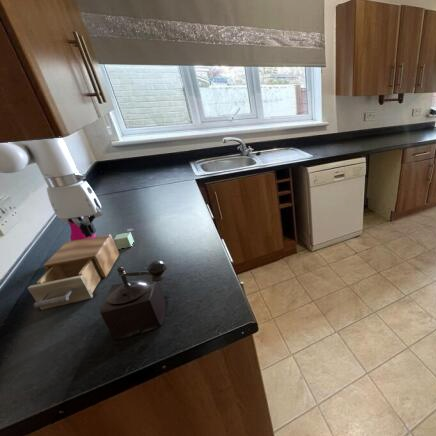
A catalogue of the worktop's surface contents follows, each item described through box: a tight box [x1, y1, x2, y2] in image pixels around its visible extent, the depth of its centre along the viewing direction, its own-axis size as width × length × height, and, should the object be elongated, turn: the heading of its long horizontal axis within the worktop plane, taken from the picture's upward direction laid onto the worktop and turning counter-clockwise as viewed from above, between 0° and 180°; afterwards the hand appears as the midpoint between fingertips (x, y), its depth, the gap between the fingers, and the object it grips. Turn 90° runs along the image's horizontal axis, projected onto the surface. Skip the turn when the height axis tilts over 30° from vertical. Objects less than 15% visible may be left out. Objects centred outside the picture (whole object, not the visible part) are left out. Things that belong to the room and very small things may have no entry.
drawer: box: [27, 258, 103, 310], centre depth 77 cm, size 18×11×8 cm, turn 21°
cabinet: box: [43, 234, 120, 279], centre depth 88 cm, size 15×13×10 cm
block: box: [113, 231, 135, 250], centre depth 104 cm, size 4×4×4 cm
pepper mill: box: [67, 216, 97, 241], centre depth 101 cm, size 7×7×20 cm
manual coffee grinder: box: [99, 260, 167, 341], centre depth 67 cm, size 16×11×18 cm
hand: (90, 234), depth 86 cm, fingers closed
